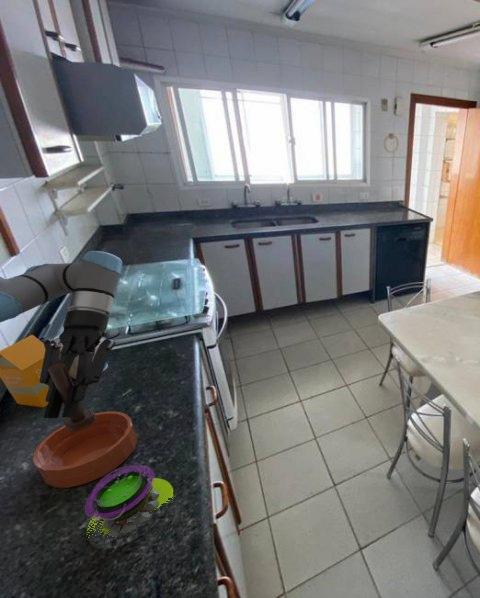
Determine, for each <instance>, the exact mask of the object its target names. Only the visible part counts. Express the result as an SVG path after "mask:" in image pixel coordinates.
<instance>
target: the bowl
mask: <svg viewBox="0 0 480 598" xmlns="http://www.w3.org/2000/svg"><path fill="white" fill-rule="evenodd" d="M94 415H95V417H96V420H95V422H94V423H93V424H92V425H90V426H89V427H87V428H85V429H82V430H79V431H68V430H67V428H66V426H65V424H63V425H62V426H61V427H59V428H58V429H56V430H54V431H53V432H51V433H50V434H49V435H48V436H46V438H44V439H43V440H41V442H40V444H39V445H38V446H37V448H36V449H35V450H34V452H33V457H32V462H33V463H34V465H35V467H36V469H37V471H38V472H39V474H40V476H41V478H42V480H43V481H44V483H45V484H46V485H48V486H51V487H54V488H64V489H66V488H67V489H68V488H73V487H77V486H82V485H85V484H87V483H90V482H92V481H95V480H97V479H100V478H102V477H105V476H106V475H107V474H110V473H111V472H112V471H114V470H116V469H117V468H118V467H119V466H121V465H122V464H123V463H124V462H126V460H127V459H128V458H129V457H130V456H131V454H132V453H133V452H134V451H135V449H136V447H137V445H138V434H137V432H136V428H135V426H134V424H133V420H132V418H131V417H130V416H129V415H128V414H127V413H124V412H121V411H109V410H108V411H101V412H94Z"/></svg>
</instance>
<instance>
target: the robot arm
mask: <svg viewBox="0 0 480 598" xmlns="http://www.w3.org/2000/svg"><path fill="white" fill-rule="evenodd" d="M81 260H82V261H77V262H64V263H63V262H62V263H43V264H37V265H33V266H30V267H28V268H27V269H26V270H25V271H24V272H23V273H22V274H19V275H16V276H13V277H12V276H11V277H9V278H4V277H3V276H0V323H3V322H5V321H9V320H11V319H15V318H17V317H18V316H20V315H22V314H24V313H26V312H29V311H31V310H33V309H35V308H36V307H39V306H41V305H44V304H46V303H49V302H51V301H53V300H56V299H58V298H60V297H62V296H65V295H68V294H69V295H70V294H72V295H71V297H70V300H69V304H68V305H67V306H68V307H67V309H68V311H66V314H65V317H64V321H63V323H62V326H63V330H62V332H61V333H60V334H59V335H60V336H59V335H58V336H59V338H56V339H54V338H53V339H54V340H53V339H52V340H51V339H45V340H44V341H43V343H44V346H45V355H44V360H43V366H42V371H41V376H40V383H43V384H46V385H48V386H49V389H48V393H47V397H46V402H48V405H46V408H45V412H44V414H43V419H58V418H59V416H60V413H61V409H62V405H63V404H64V403H63V401H62V399H61V397H60V395H59V392H58V390H57V388H56V386H55V384H54V382H53V379H52V377H51V375H50V373H49V371H48V368H49V367H51V366H53V365H55V364H60V363H63V364H65V366H66V368H67V370H68V373H69V371H70V368H71V366H72V364H73V361H74V359H75V357H77V356H78V355H79V359H78V367H77V375H76V379H75V381H74V382H73V381H72V382H73V384H74V386H70V389H69V393H68V396H67V400H66V403H65V405H64V408H63V411H62V414H61V418H66V417H76V413H77V409H78V406H79V402H80V401H81V402H82V401H84V399H85V397H86V394H87V393H86V392H87V389H88V386H90V385H92V384H97V383H99V382H100V379H101V377H102V374H103V373H104V371H103V369H104V366H105V364H106V362H107V361H108V358H109V356H110V352H111V351H112V350H113V348H114V347H115V346H116V345H117V342H116V341H115V340H112V339H109V338H106V335H105V331H106V330H107V328H108V324H109V321H110V317H109V315H110V314H111V312H112V307H113V304H114V300H115V295H116V292H117V289H118V286H119V281H120V278H121V276H122V268H123V261H122V259H121V258H120V257H119V256H117V255H115V254H113V253H110V252H106V251H102V250H89V251H88V252H85V253H84V255H83V257H82V258H81ZM61 344H62V345H63V348H62V350H61V352H60V348H61V347H62V346H61ZM98 345H99V347H98V349H97V351H96V354H95V347H97V346H98ZM60 354H61V356H60ZM94 355H95V356H94ZM93 356H94V359H93ZM59 357H60V358H59ZM92 359H93V362H92Z"/></svg>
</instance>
